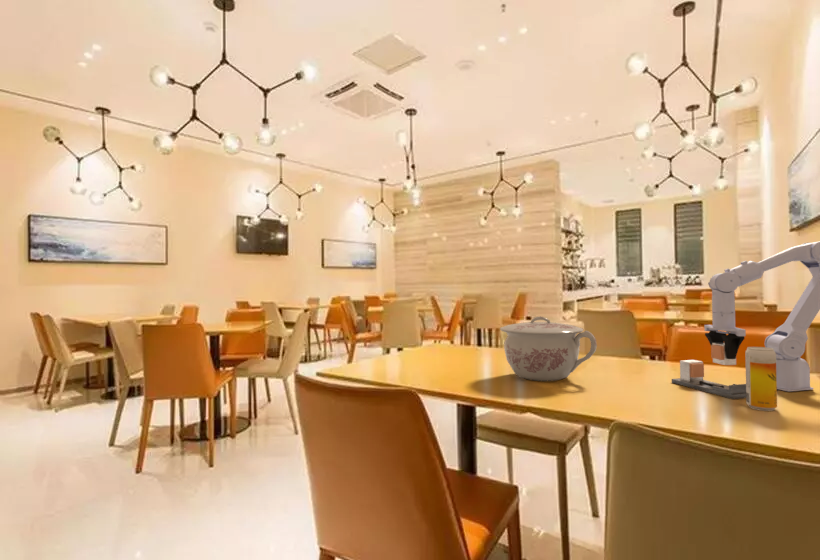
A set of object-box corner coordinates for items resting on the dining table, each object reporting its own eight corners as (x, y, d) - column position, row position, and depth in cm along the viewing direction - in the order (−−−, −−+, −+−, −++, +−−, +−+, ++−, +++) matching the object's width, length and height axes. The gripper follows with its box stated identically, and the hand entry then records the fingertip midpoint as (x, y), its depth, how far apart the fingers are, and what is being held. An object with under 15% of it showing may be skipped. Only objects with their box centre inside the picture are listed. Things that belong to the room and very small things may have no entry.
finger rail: (671, 382, 142) (671, 359, 142) (692, 381, 144) (692, 358, 144) (733, 399, 121) (732, 372, 122) (757, 397, 123) (756, 370, 123)
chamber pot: (486, 372, 162) (485, 315, 163) (552, 367, 171) (551, 312, 171) (529, 390, 136) (528, 321, 136) (604, 382, 144) (603, 317, 144)
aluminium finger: (723, 361, 139) (723, 342, 139) (736, 364, 134) (735, 344, 134) (710, 362, 139) (709, 342, 139) (722, 365, 134) (721, 345, 134)
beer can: (782, 412, 109) (781, 350, 109) (754, 411, 111) (753, 349, 111) (768, 405, 115) (767, 346, 115) (741, 404, 117) (740, 346, 117)
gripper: (694, 311, 144) (695, 353, 144) (728, 314, 130) (729, 361, 129) (716, 310, 144) (717, 353, 144) (752, 314, 130) (753, 361, 130)
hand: (724, 357), depth 137 cm, fingers closed on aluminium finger, 5 cm apart
